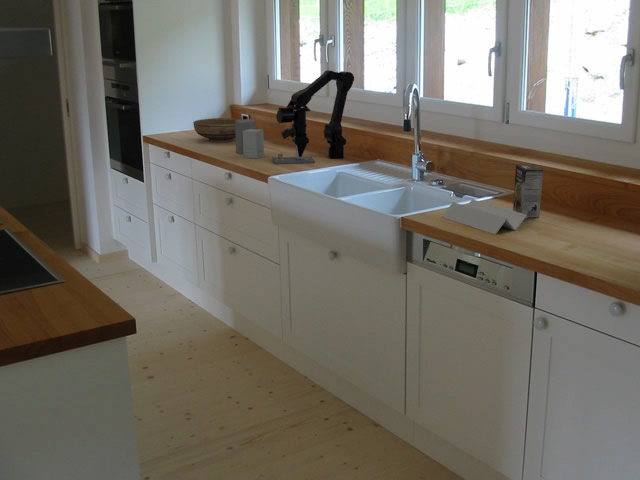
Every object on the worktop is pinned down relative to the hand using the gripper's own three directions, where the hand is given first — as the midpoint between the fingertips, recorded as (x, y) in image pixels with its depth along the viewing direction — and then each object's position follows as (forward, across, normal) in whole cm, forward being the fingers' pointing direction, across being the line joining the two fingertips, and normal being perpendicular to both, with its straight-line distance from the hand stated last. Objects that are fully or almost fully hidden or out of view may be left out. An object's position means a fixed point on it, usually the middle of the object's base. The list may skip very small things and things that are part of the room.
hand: (299, 156), depth 356 cm
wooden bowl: (+3, -67, -34) cm, 75 cm away
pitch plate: (+2, 0, -3) cm, 4 cm away
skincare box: (+2, -26, -23) cm, 35 cm away
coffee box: (+2, +109, +63) cm, 126 cm away
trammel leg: (+1, 0, 0) cm, 1 cm away
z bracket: (+3, +117, +46) cm, 125 cm away
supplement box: (+2, -14, -20) cm, 25 cm away
